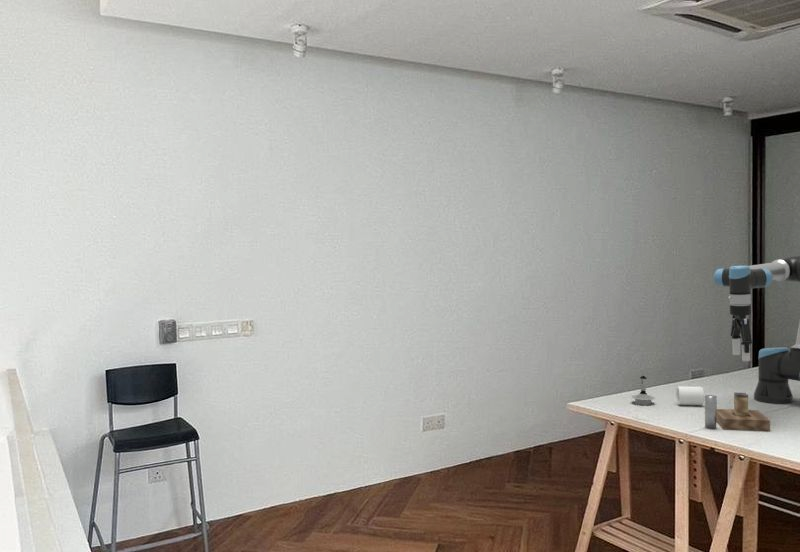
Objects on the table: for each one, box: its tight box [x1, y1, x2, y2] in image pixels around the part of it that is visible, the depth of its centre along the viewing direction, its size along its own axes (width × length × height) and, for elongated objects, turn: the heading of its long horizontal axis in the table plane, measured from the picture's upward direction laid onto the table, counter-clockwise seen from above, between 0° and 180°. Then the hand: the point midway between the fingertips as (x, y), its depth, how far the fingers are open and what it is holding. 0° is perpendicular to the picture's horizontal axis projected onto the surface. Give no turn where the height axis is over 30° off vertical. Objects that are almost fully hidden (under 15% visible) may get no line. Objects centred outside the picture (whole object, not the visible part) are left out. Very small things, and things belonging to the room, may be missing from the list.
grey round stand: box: [630, 375, 656, 406], centre depth 305 cm, size 12×10×10 cm
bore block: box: [716, 408, 771, 432], centre depth 266 cm, size 16×16×4 cm
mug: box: [675, 385, 705, 407], centre depth 302 cm, size 12×10×8 cm
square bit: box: [733, 392, 749, 416], centre depth 266 cm, size 4×4×12 cm
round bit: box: [704, 394, 718, 430], centre depth 263 cm, size 4×4×12 cm
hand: (741, 357), depth 278 cm, fingers open, 13 cm apart
